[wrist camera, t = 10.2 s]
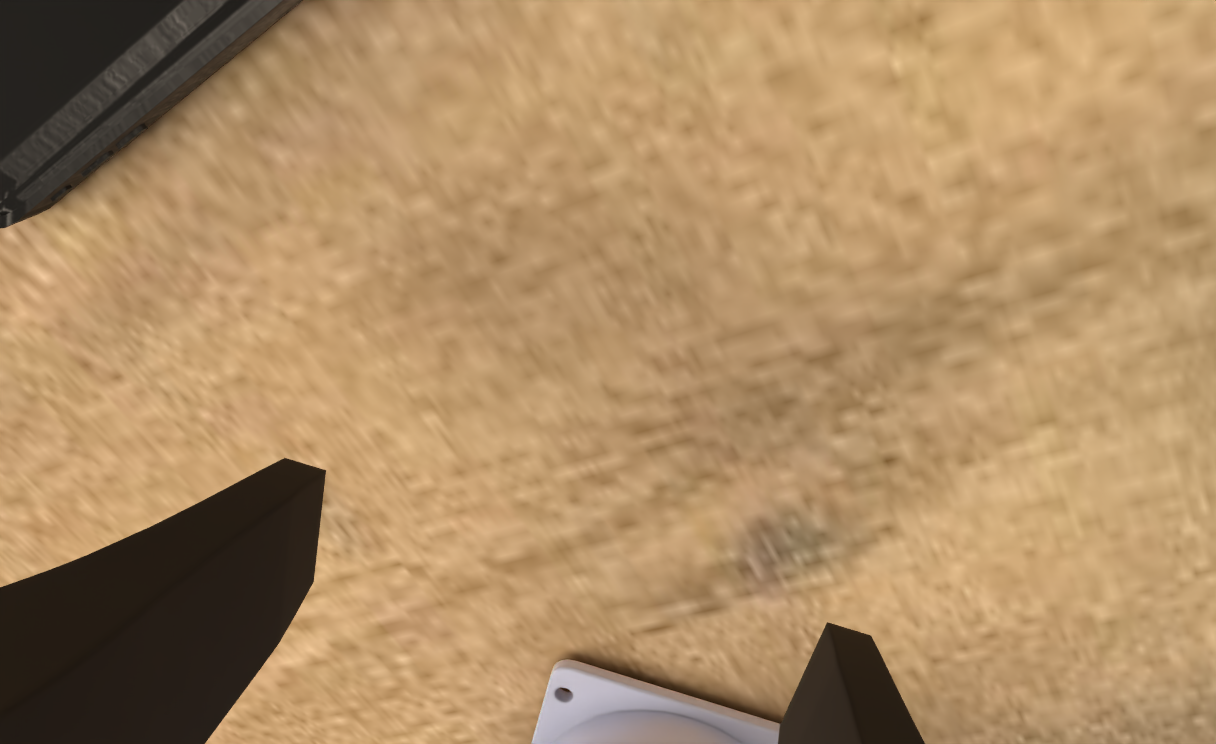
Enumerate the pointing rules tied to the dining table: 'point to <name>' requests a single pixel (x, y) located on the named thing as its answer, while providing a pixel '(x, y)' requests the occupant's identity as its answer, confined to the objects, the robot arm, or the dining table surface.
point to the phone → (102, 81)
